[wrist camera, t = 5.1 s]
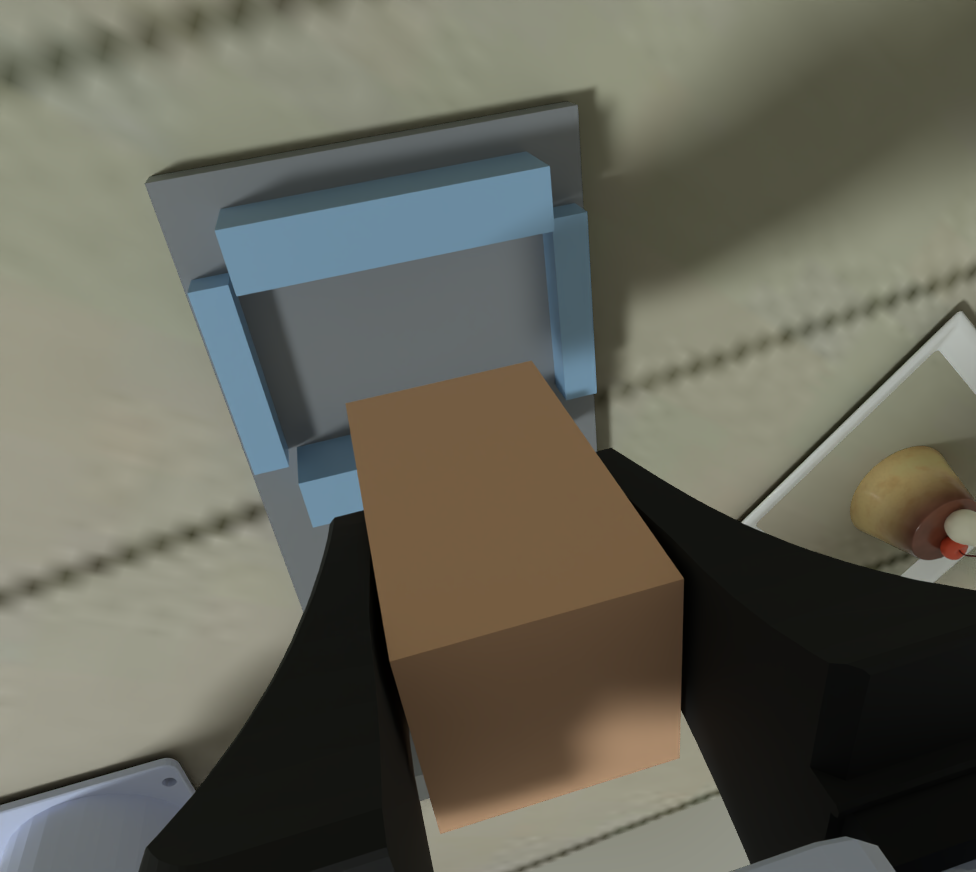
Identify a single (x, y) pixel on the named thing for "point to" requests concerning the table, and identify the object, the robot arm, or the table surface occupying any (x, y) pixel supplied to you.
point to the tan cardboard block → (515, 595)
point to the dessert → (908, 475)
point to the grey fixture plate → (380, 291)
